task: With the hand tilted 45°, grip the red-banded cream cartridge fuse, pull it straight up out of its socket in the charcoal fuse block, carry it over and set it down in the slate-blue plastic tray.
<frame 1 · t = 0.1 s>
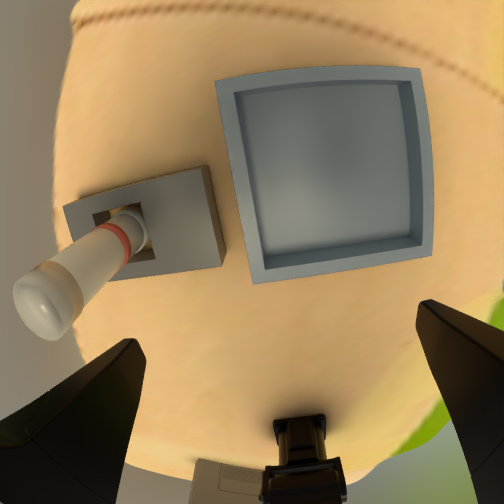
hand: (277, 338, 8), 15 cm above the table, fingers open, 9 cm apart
fuse block: (145, 224, 22), on the table
tray: (332, 166, 20), on the table
cassette player: (243, 469, 38), on the table
fuse: (135, 226, 23), resting in fuse block
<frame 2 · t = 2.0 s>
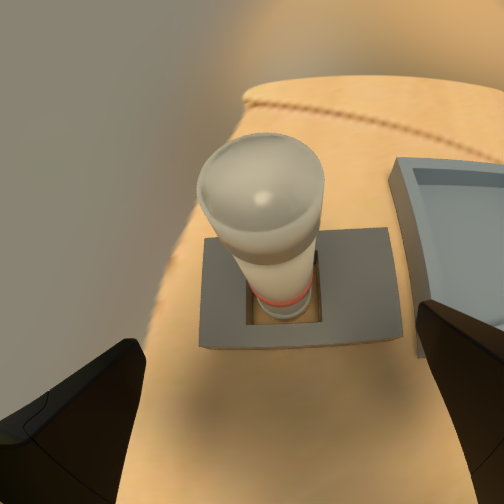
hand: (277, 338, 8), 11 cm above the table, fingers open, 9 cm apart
fuse block: (300, 296, 19), on the table
tray: (478, 254, 18), on the table
fuse: (285, 296, 19), resting in fuse block
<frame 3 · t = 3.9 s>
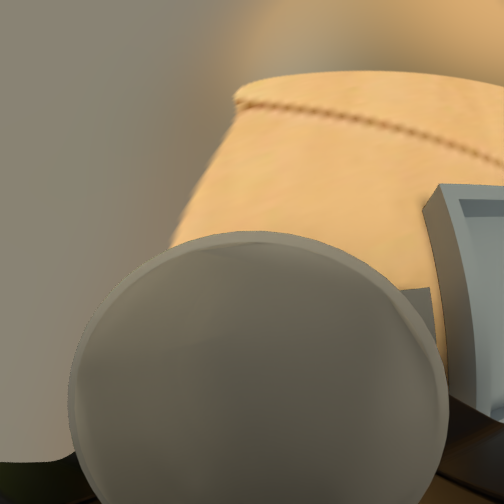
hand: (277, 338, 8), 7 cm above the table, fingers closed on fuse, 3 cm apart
fuse block: (308, 375, 14), on the table
fuse: (288, 376, 14), resting in fuse block, touching gripper
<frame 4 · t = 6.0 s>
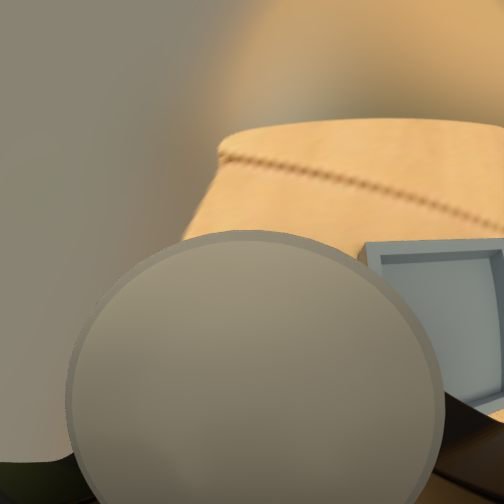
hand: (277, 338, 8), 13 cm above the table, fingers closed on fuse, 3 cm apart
tray: (443, 335, 19), on the table
fuse: (288, 376, 14), point 7 cm above the table, touching gripper
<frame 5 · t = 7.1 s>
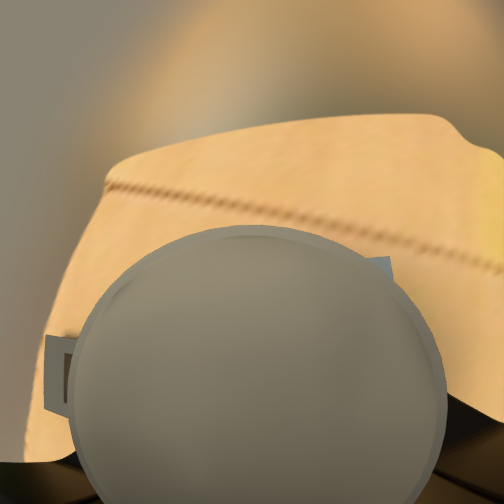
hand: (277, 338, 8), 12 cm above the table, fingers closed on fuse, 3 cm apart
fuse block: (108, 384, 20), on the table
fuse: (288, 375, 14), point 6 cm above the table, touching gripper
when the fingers open (9 cm above the table, at t = 8.0 s): fuse drops 1 cm, resting on tray.
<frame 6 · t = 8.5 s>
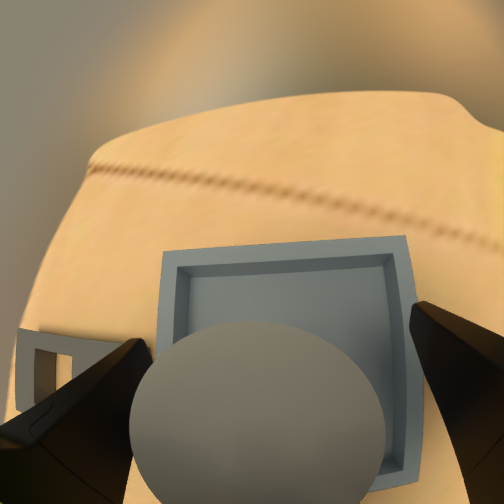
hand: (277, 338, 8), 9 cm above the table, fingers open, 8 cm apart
fuse block: (82, 385, 17), on the table
tray: (290, 374, 16), on the table
fuse: (289, 375, 15), point 1 cm above the table, touching tray
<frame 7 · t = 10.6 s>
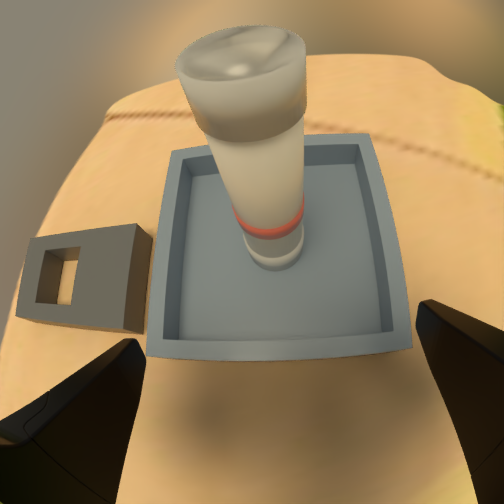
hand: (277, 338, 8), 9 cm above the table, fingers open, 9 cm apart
fuse block: (84, 285, 20), on the table
tray: (276, 250, 19), on the table
fuse: (275, 245, 18), point 1 cm above the table, touching tray
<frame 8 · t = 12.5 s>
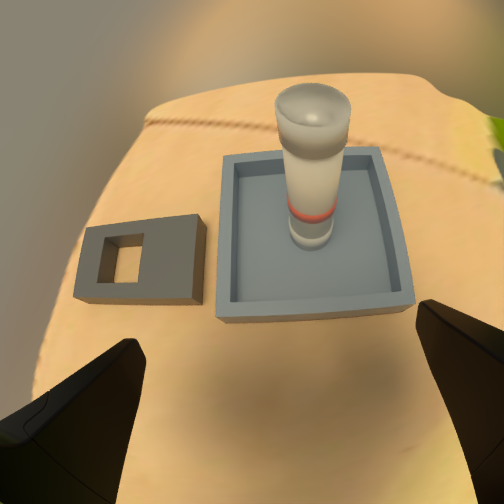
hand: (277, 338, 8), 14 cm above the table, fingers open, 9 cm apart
fuse block: (142, 267, 25), on the table
tray: (310, 235, 24), on the table
fuse: (310, 231, 23), point 1 cm above the table, touching tray
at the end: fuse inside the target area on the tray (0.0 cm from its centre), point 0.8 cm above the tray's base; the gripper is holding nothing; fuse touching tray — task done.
